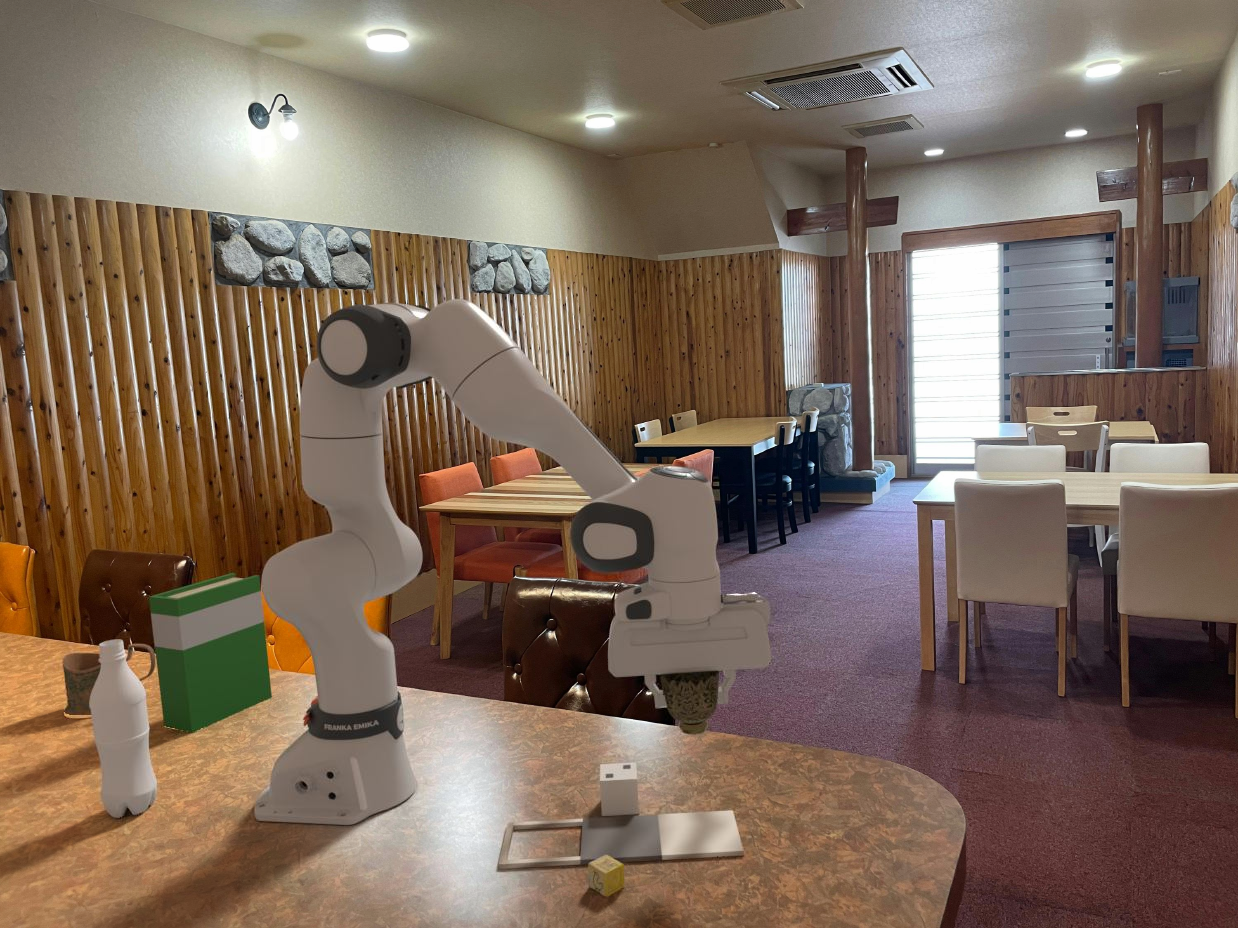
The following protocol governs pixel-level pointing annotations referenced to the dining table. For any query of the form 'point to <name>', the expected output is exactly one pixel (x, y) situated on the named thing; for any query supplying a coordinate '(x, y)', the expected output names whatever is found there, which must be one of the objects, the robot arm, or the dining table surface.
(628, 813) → the die
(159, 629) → the hardback book
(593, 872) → the alphabet block
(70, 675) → the mug
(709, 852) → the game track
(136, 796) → the water bottle
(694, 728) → the cup
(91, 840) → the dining table surface
